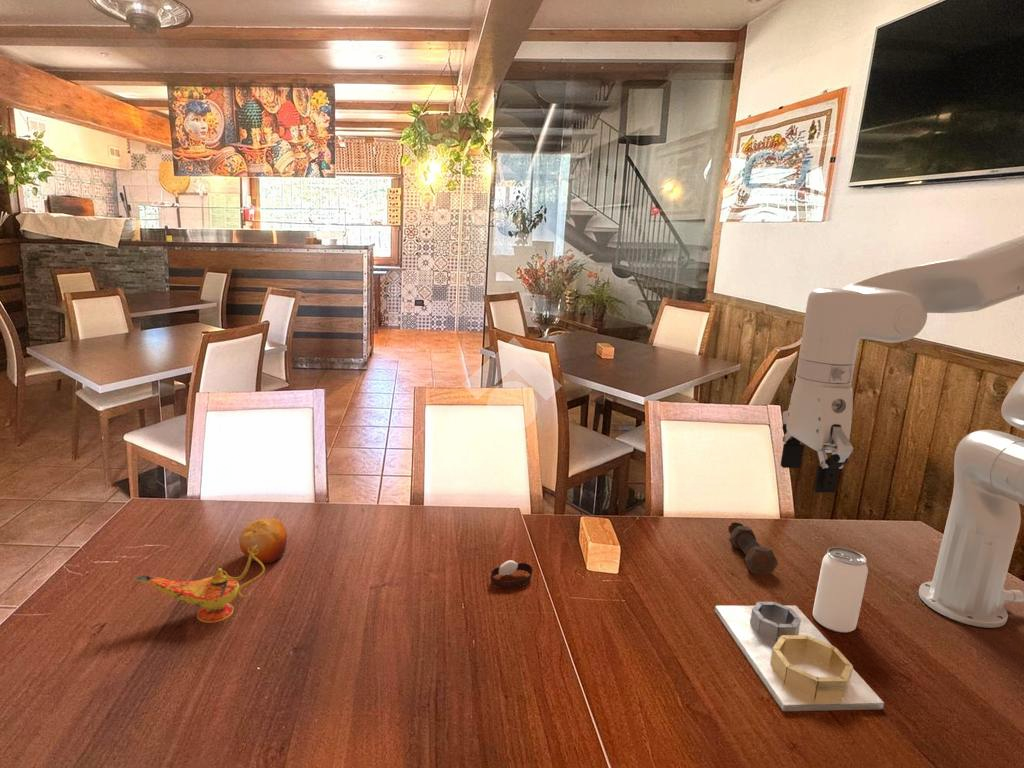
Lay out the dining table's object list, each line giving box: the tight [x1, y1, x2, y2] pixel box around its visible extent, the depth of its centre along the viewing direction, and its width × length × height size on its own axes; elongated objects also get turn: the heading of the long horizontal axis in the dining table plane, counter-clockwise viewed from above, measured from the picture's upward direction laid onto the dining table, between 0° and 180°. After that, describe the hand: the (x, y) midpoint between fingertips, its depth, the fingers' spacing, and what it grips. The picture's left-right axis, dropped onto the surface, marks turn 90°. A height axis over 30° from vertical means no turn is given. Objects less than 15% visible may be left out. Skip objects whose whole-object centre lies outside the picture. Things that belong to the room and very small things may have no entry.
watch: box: [490, 559, 534, 589], centre depth 107 cm, size 8×5×4 cm, turn 115°
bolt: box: [727, 522, 779, 576], centre depth 121 cm, size 6×5×15 cm
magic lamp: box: [134, 545, 266, 624], centre depth 93 cm, size 7×18×11 cm, turn 103°
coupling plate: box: [714, 601, 885, 712], centre depth 92 cm, size 14×22×4 cm, turn 5°
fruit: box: [238, 517, 288, 564], centre depth 111 cm, size 8×8×8 cm
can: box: [812, 546, 869, 634], centre depth 100 cm, size 6×6×12 cm
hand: (806, 478), depth 96 cm, fingers open, 9 cm apart
